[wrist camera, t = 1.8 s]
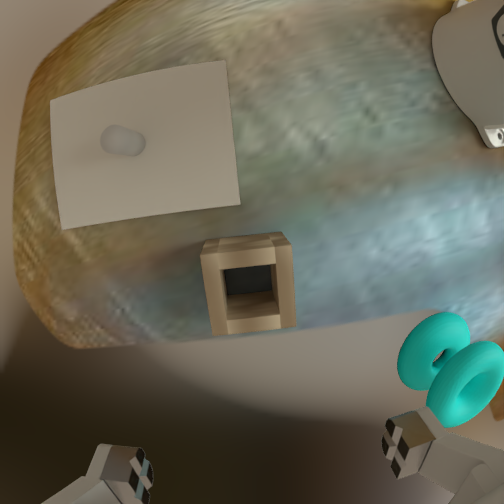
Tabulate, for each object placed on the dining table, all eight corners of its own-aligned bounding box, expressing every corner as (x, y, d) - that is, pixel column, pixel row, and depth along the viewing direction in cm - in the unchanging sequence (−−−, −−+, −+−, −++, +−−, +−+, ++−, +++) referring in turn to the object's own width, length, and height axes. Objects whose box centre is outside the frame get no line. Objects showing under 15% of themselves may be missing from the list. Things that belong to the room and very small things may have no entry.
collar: (281, 231, 27) (291, 244, 22) (286, 300, 28) (296, 326, 23) (206, 239, 27) (199, 255, 22) (216, 308, 28) (212, 335, 23)
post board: (226, 65, 23) (224, 38, 17) (240, 202, 26) (241, 211, 20) (58, 103, 22) (22, 91, 17) (69, 227, 25) (35, 241, 20)
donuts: (461, 355, 20) (523, 345, 21) (407, 307, 29) (470, 307, 30) (418, 441, 22) (484, 422, 23) (382, 384, 32) (444, 377, 33)
